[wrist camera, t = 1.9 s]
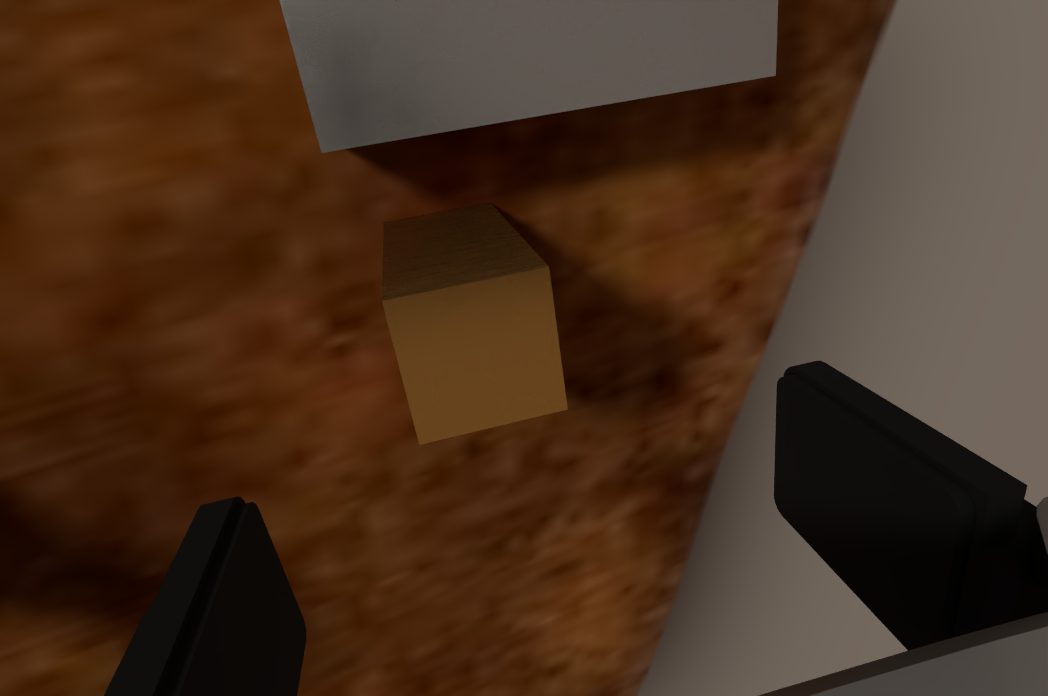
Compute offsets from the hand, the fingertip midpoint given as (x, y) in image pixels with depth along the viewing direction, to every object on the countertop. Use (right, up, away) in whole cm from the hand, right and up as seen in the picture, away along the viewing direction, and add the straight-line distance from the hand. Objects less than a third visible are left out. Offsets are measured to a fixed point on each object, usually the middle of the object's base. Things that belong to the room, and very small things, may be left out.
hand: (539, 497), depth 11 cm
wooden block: (-3, +6, +12) cm, 14 cm away
